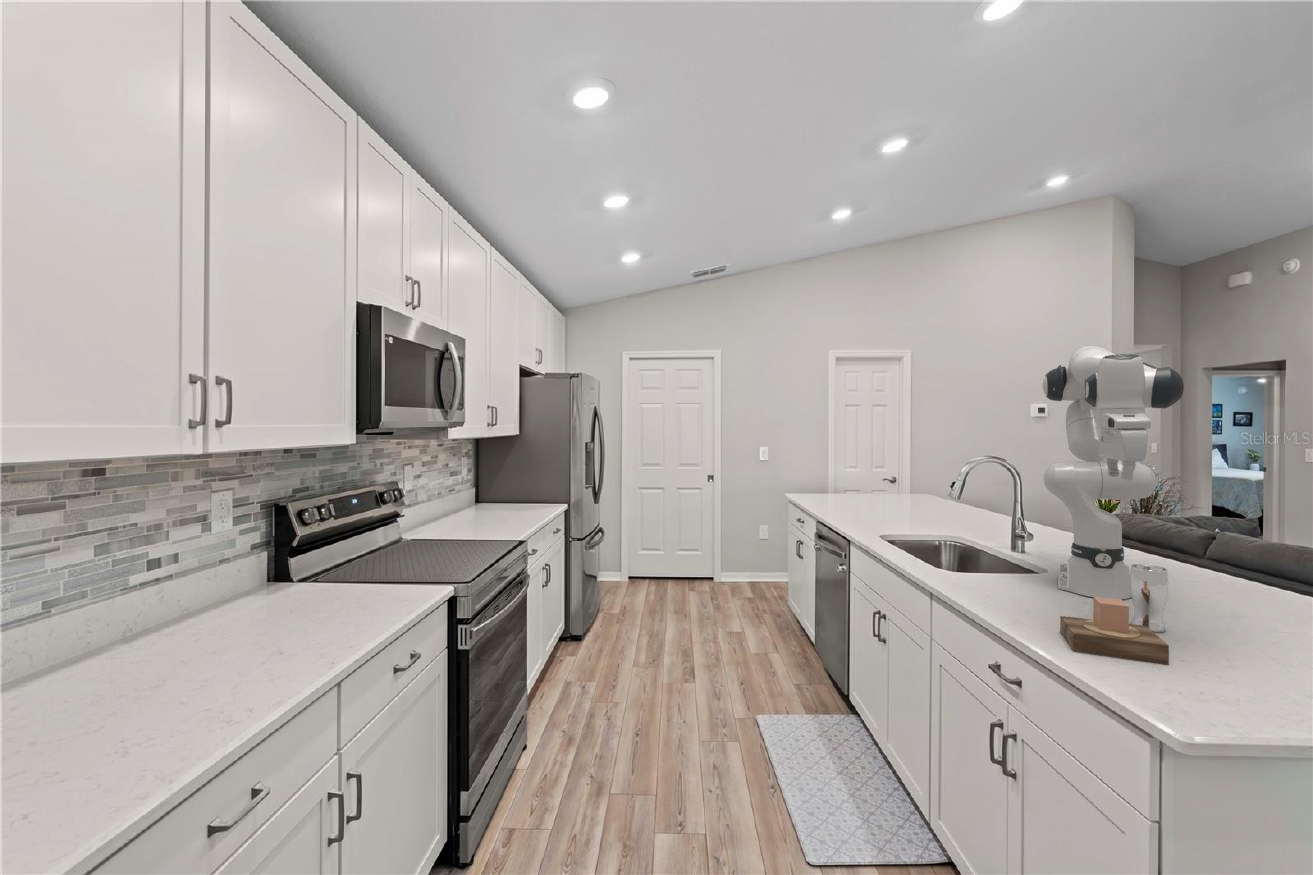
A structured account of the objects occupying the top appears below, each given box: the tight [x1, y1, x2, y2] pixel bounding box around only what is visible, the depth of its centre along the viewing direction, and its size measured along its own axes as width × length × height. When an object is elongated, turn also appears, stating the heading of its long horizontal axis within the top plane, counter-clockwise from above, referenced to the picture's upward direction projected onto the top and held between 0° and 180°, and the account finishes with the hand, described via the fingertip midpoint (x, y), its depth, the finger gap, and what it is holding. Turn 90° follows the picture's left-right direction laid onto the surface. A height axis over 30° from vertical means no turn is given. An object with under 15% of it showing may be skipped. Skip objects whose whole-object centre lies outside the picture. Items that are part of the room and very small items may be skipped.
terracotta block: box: [1092, 597, 1130, 633], centre depth 120 cm, size 5×5×6 cm
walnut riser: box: [1059, 615, 1170, 665], centre depth 120 cm, size 12×16×4 cm
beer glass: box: [1130, 563, 1169, 633], centre depth 131 cm, size 7×7×15 cm
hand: (1119, 478), depth 129 cm, fingers open, 8 cm apart
